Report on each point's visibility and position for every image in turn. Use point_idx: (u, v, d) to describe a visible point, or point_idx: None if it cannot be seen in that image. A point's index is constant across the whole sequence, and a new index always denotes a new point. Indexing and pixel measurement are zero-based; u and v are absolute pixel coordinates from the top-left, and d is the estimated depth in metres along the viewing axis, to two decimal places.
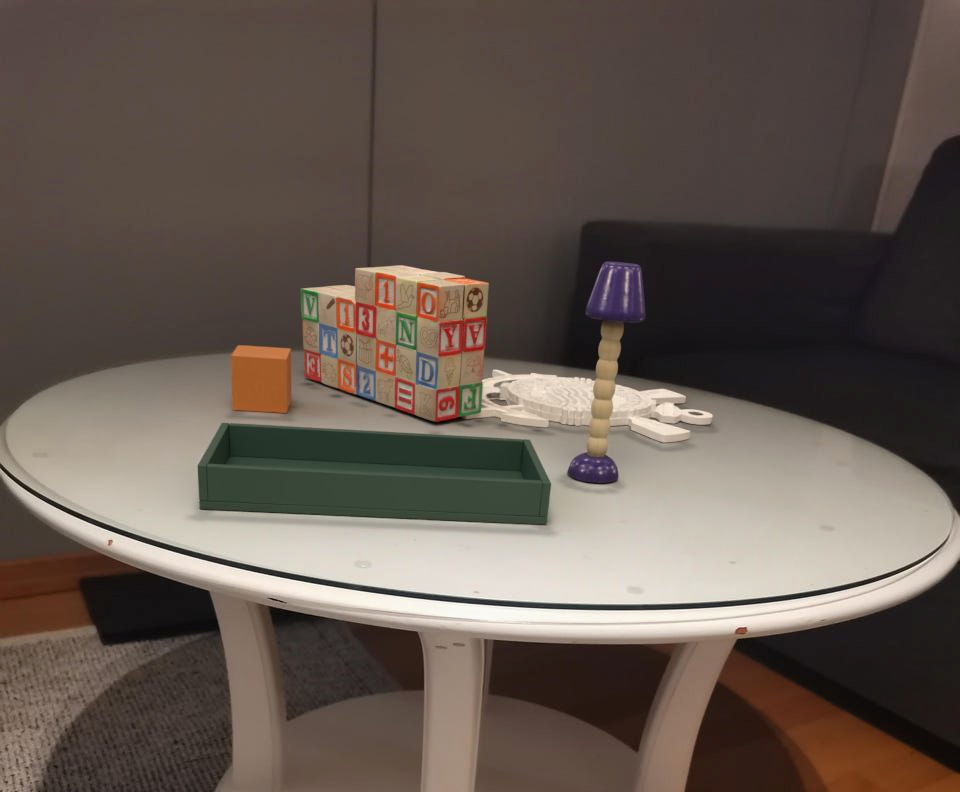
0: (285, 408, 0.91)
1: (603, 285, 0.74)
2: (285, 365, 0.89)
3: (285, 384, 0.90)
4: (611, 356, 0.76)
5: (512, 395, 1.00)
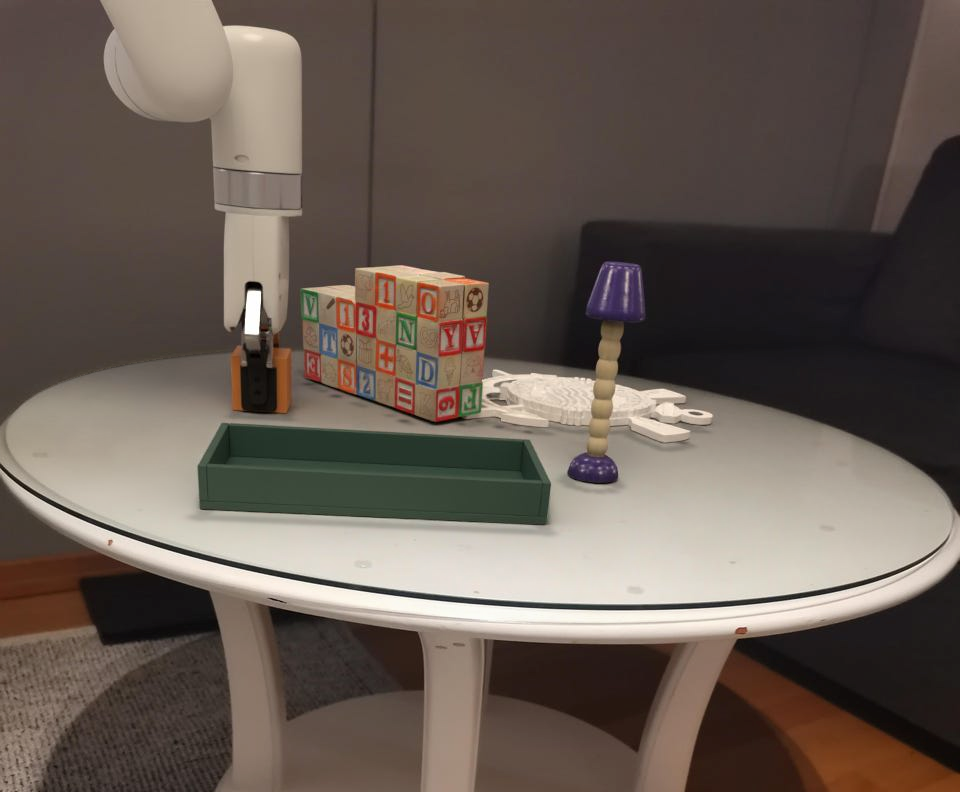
0: (285, 408, 0.91)
1: (603, 285, 0.74)
2: (285, 365, 0.89)
3: (285, 384, 0.90)
4: (611, 356, 0.76)
5: (512, 395, 1.00)
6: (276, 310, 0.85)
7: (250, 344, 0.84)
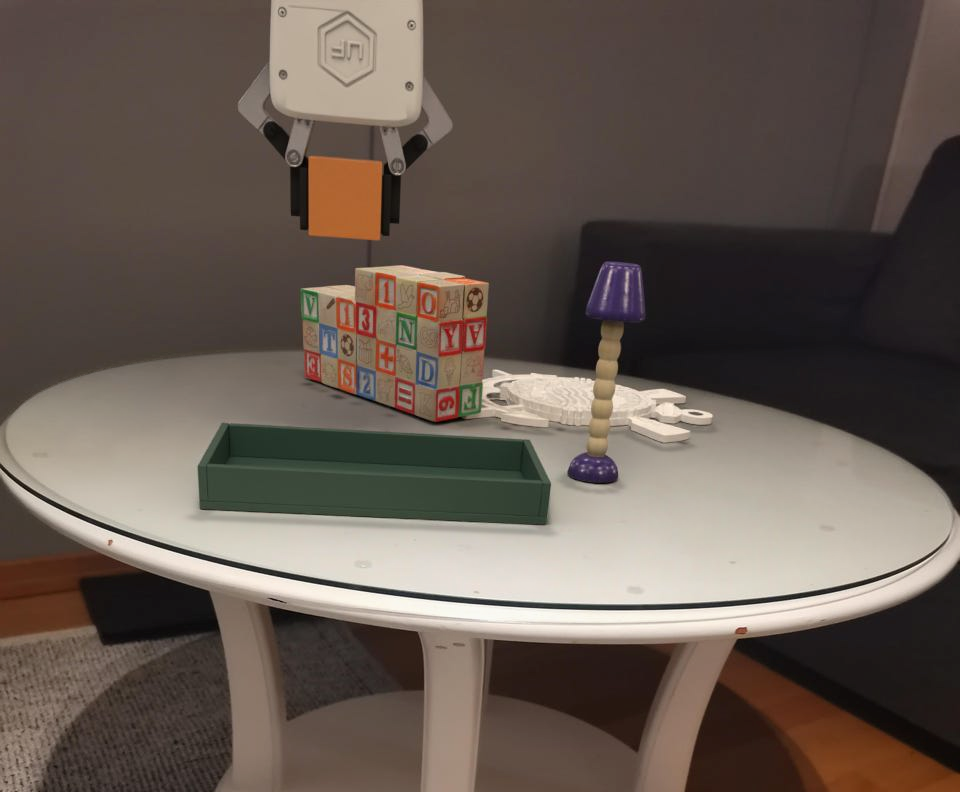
0: None
1: (603, 285, 0.74)
2: None
3: None
4: (611, 356, 0.76)
5: (512, 395, 1.00)
6: None
7: (442, 136, 0.68)
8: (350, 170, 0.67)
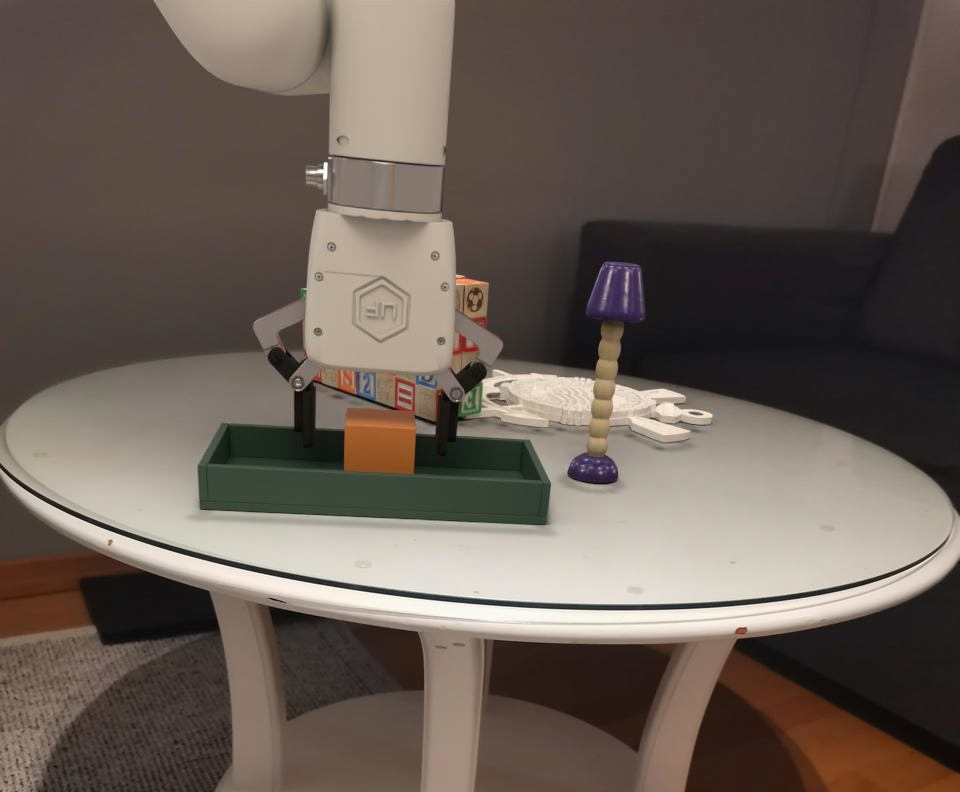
0: None
1: (603, 285, 0.74)
2: None
3: None
4: (611, 356, 0.76)
5: (512, 395, 1.00)
6: None
7: None
8: (385, 435, 0.69)
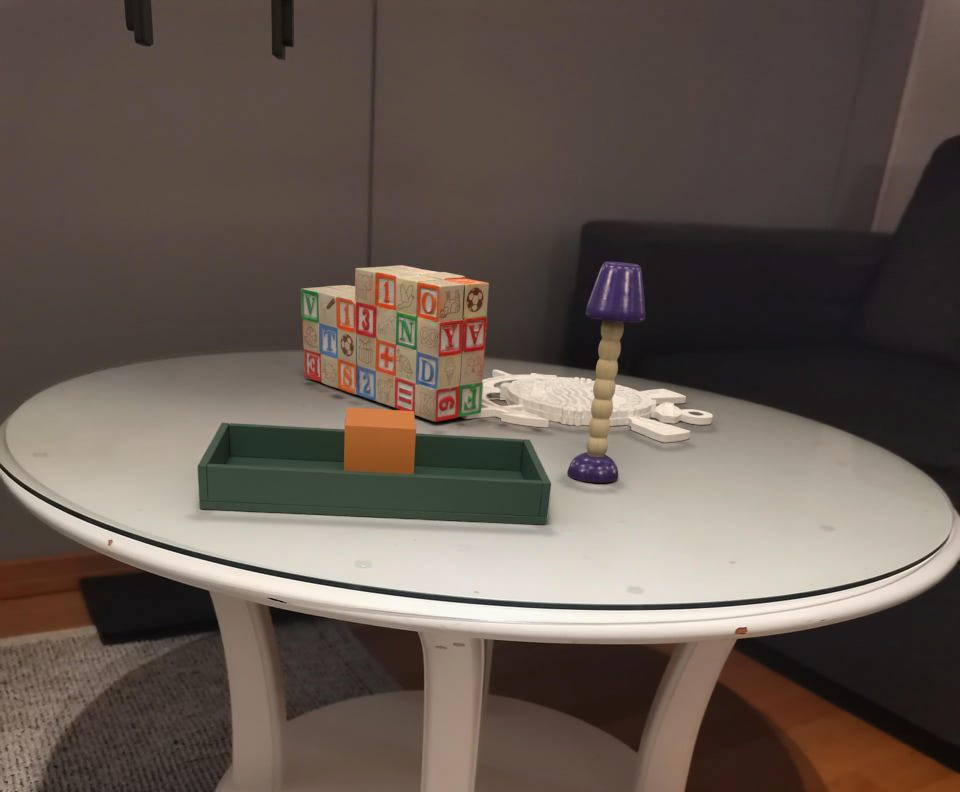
0: None
1: (603, 285, 0.74)
2: None
3: None
4: (611, 356, 0.76)
5: (512, 395, 1.00)
6: None
7: None
8: (385, 435, 0.69)
